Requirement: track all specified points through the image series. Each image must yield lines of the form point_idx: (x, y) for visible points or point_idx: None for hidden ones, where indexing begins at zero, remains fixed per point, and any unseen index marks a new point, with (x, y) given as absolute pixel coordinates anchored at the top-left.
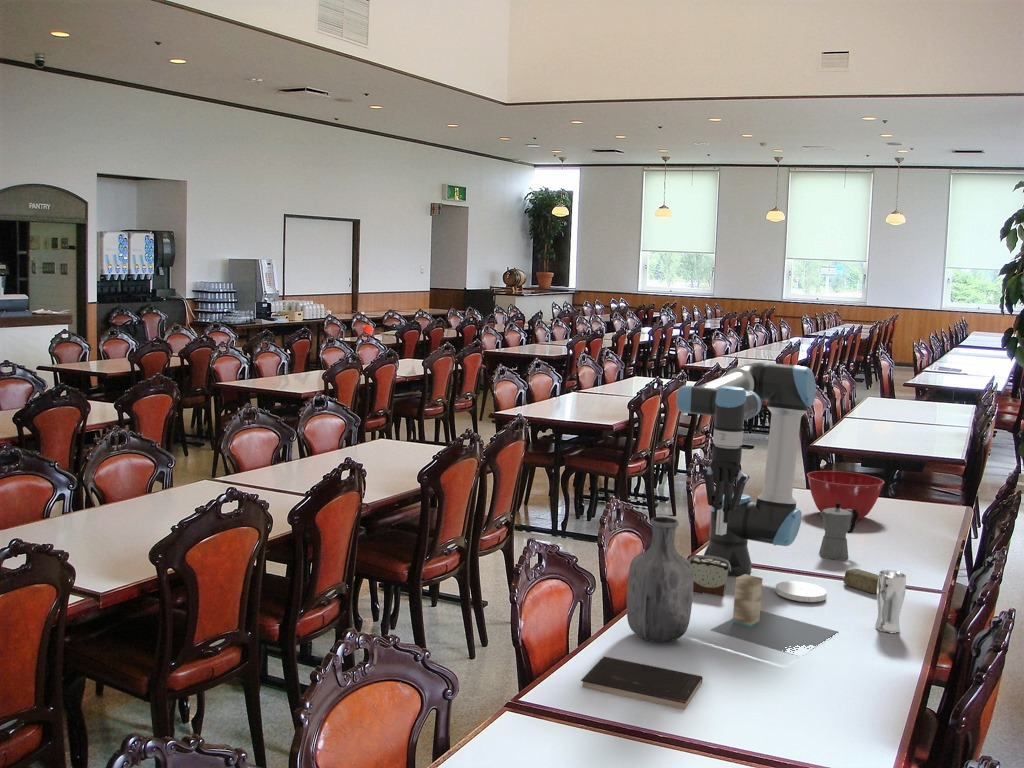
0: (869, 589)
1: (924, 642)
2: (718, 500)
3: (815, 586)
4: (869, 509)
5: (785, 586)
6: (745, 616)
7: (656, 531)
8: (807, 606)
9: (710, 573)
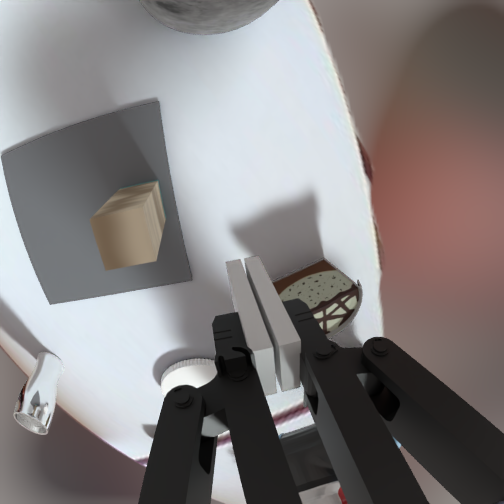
0: None
1: (11, 354)
2: (326, 402)
3: None
4: None
5: None
6: (127, 190)
7: None
8: (159, 359)
9: (308, 296)
